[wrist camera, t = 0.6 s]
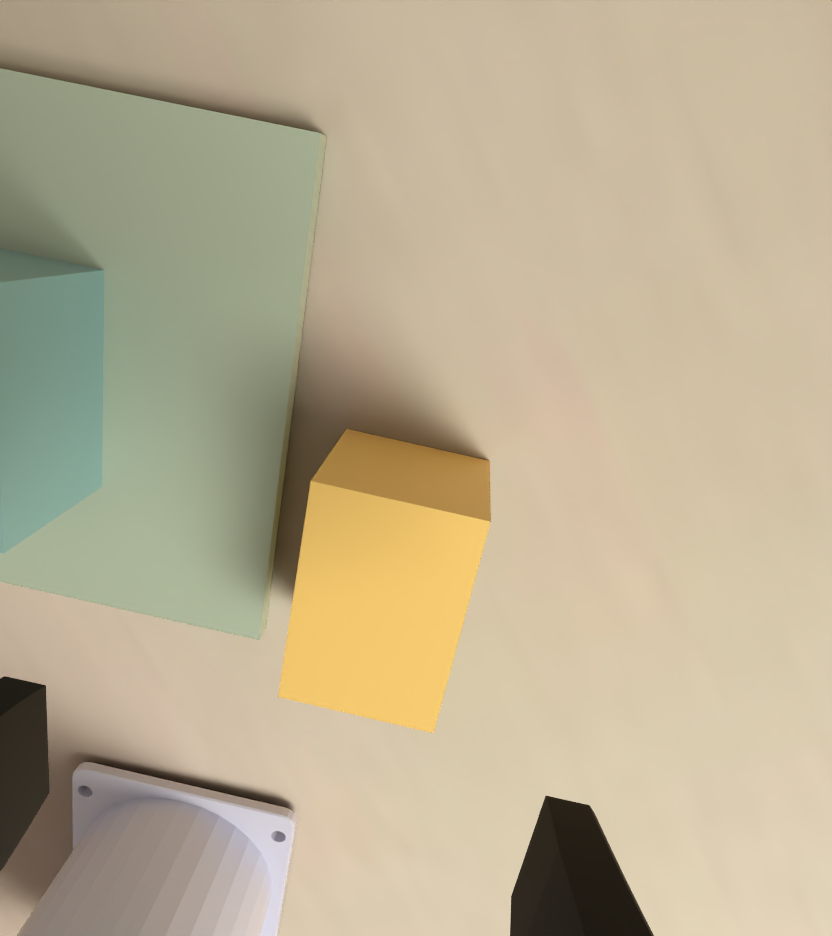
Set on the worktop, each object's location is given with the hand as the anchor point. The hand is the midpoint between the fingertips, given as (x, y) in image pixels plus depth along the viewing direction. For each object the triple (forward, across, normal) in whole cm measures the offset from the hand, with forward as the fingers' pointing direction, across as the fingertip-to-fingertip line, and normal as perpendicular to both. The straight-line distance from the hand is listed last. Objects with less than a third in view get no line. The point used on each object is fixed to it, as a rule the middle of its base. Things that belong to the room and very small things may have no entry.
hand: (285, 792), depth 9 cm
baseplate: (+10, +10, -2) cm, 14 cm away
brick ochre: (+10, 0, +1) cm, 10 cm away
